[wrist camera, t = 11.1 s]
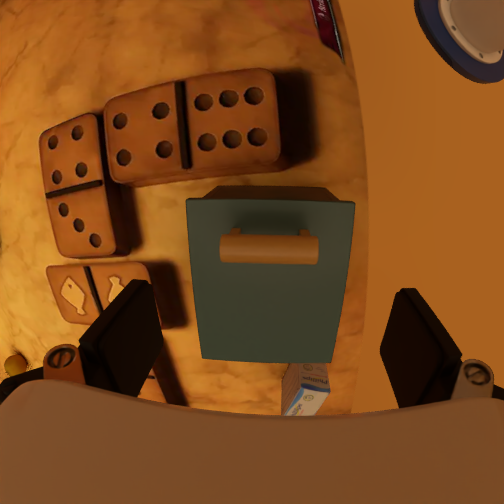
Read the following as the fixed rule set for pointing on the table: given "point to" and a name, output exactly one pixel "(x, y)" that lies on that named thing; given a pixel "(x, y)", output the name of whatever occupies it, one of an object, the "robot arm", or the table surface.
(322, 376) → the medicine box
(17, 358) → the apple
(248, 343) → the lid
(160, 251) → the table surface
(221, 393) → the table surface
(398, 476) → the robot arm
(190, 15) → the table surface
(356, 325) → the table surface
